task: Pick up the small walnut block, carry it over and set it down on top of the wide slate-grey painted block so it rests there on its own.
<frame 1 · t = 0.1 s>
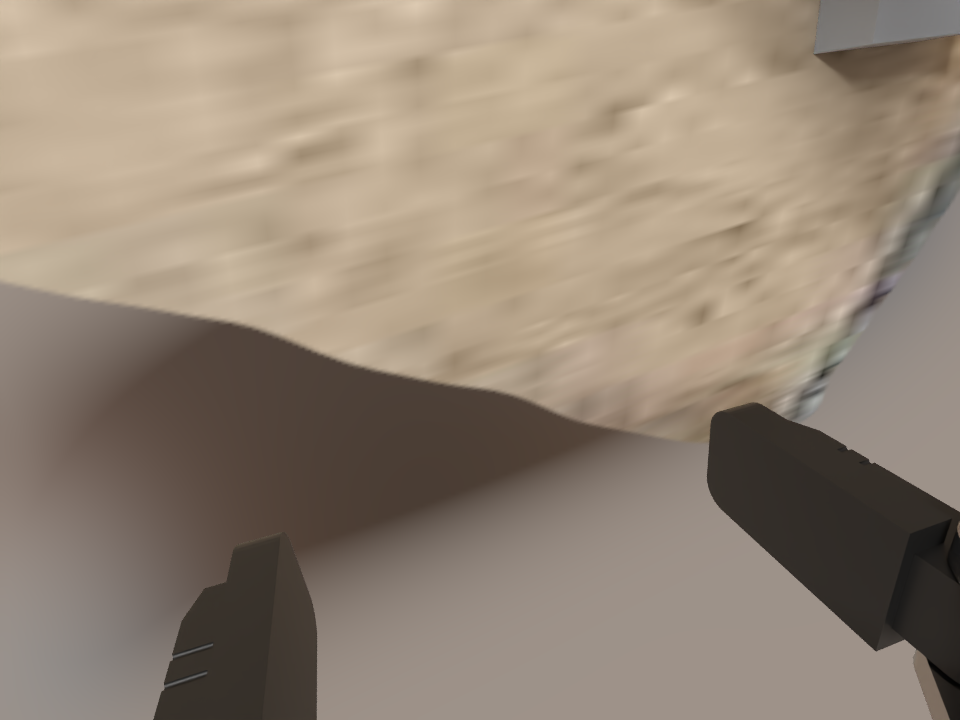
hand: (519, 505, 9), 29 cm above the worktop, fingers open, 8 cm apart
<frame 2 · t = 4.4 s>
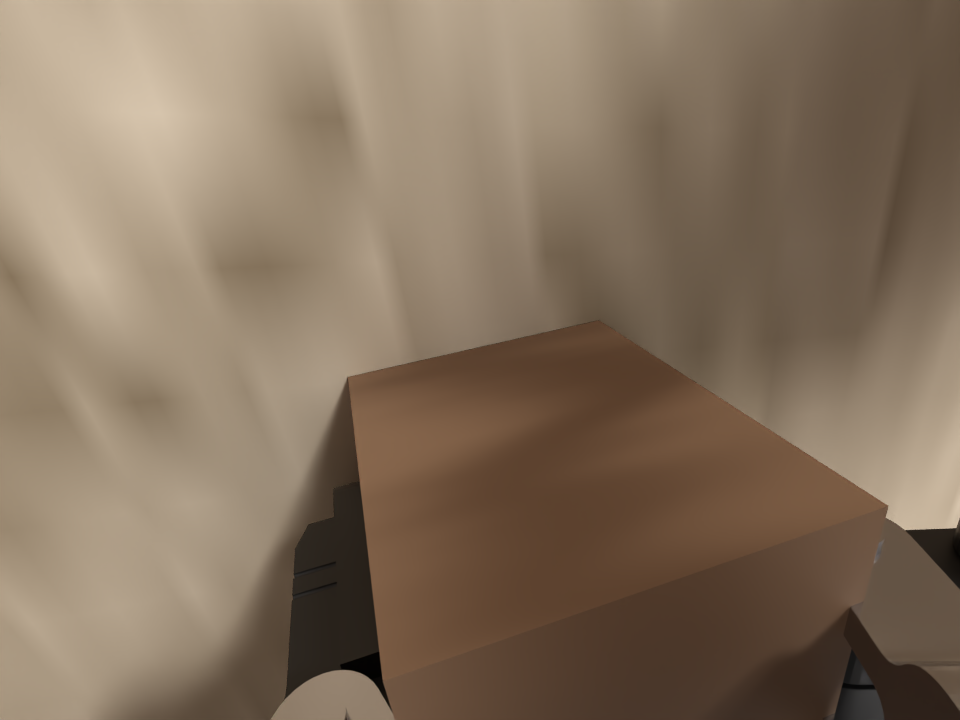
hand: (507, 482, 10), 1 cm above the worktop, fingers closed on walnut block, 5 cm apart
walnut block: (494, 455, 11), on the worktop, touching gripper
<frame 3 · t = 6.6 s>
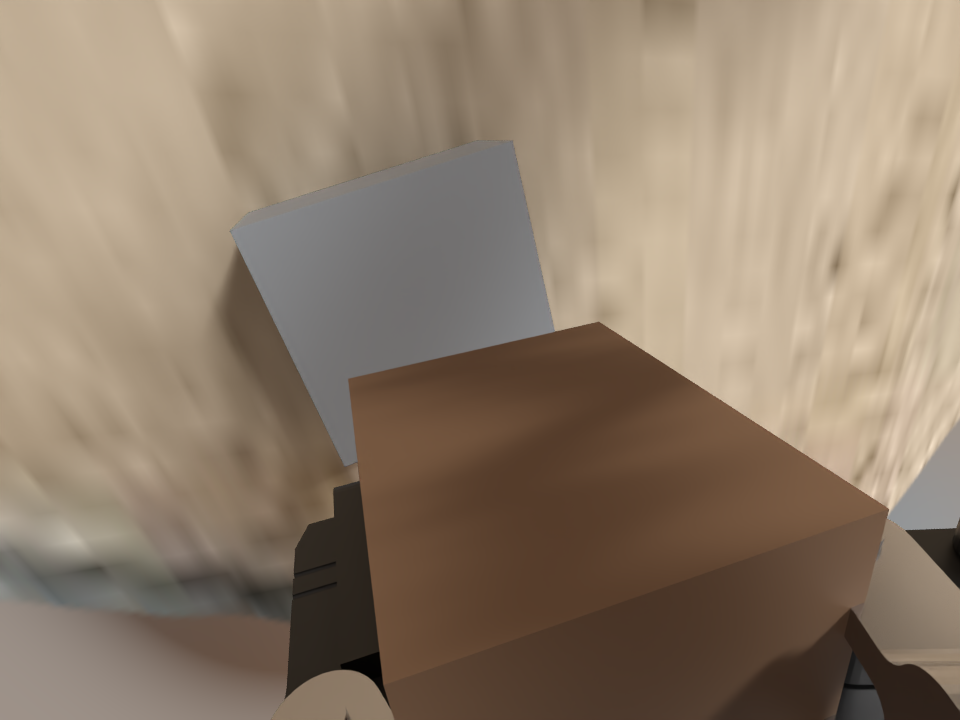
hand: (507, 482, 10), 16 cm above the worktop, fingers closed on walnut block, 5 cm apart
walnut block: (494, 456, 11), point 15 cm above the worktop, touching gripper
base block: (403, 284, 24), on the worktop
when the fingers open (7 cm above the worktop, at t = 8.9 s): walnut block drops 2 cm, resting on base block.
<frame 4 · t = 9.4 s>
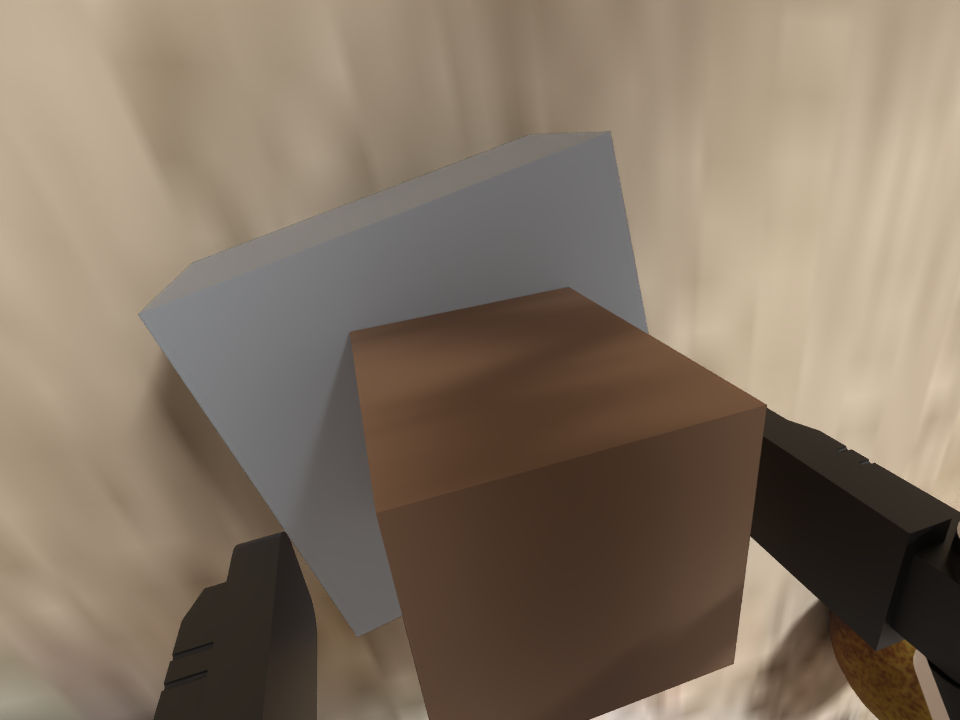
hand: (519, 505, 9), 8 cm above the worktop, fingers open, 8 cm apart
walnut block: (477, 406, 13), point 5 cm above the worktop, touching base block
fruit: (862, 596, 30), on the worktop
base block: (428, 345, 17), on the worktop, touching walnut block
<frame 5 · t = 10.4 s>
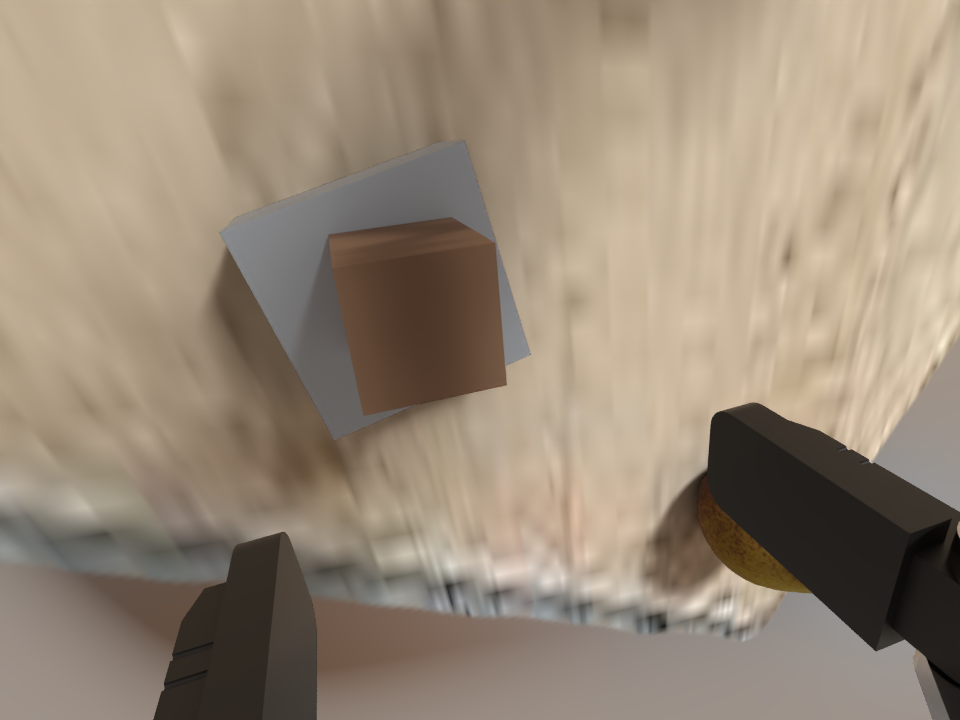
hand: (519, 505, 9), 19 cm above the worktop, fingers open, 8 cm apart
walnut block: (401, 285, 22), point 5 cm above the worktop, touching base block
fruit: (726, 485, 40), on the worktop
base block: (381, 275, 27), on the worktop, touching walnut block
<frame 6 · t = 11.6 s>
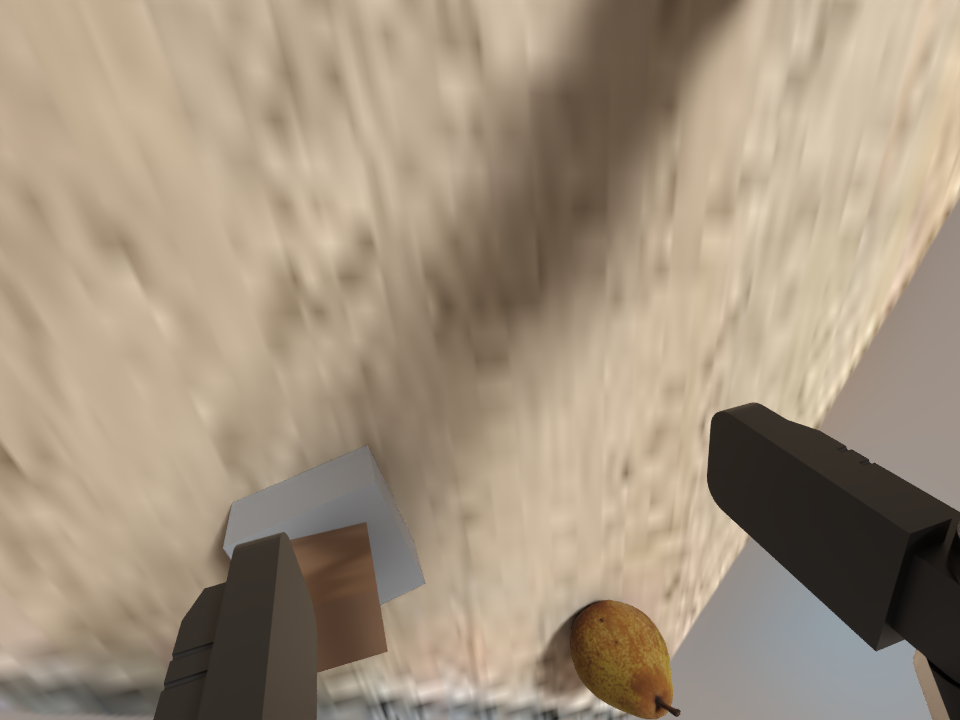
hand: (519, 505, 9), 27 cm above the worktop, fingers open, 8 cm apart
walnut block: (333, 560, 35), point 5 cm above the worktop, touching base block
fruit: (597, 618, 53), on the worktop
base block: (329, 520, 40), on the worktop, touching walnut block
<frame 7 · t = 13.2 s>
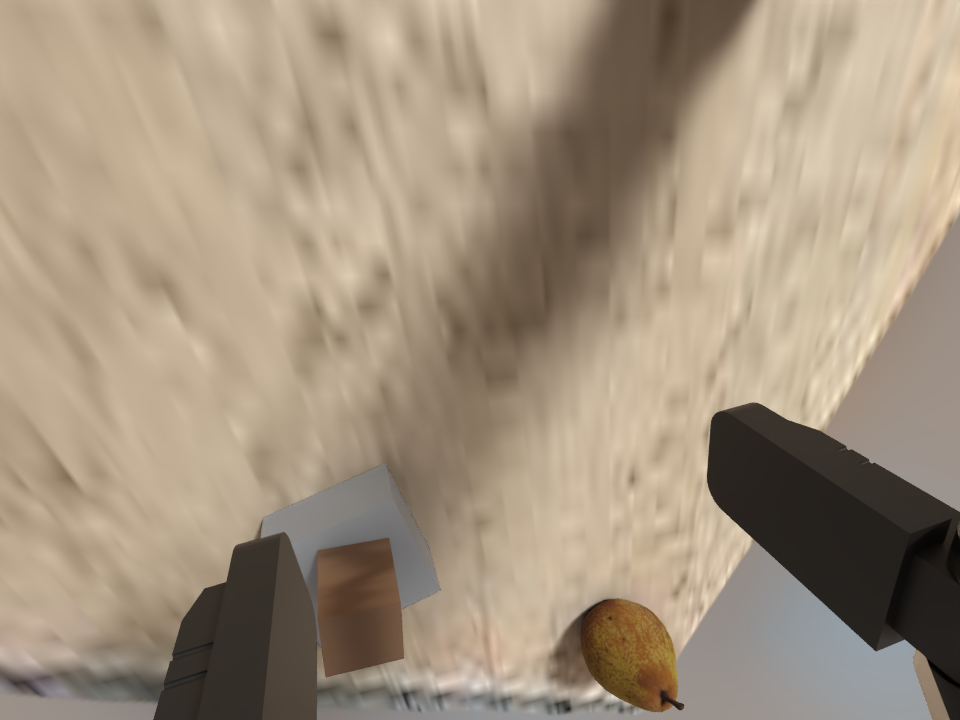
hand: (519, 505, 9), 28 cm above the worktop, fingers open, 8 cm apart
walnut block: (356, 570, 38), point 5 cm above the worktop
fruit: (606, 615, 56), on the worktop
base block: (351, 531, 43), on the worktop
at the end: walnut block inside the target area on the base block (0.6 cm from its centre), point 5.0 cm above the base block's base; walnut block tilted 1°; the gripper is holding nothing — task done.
